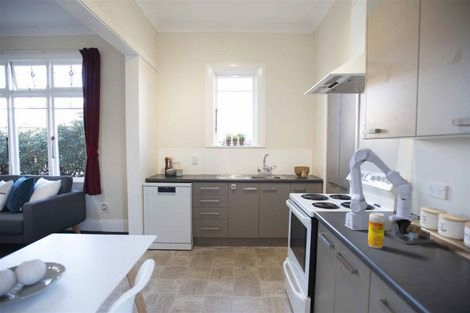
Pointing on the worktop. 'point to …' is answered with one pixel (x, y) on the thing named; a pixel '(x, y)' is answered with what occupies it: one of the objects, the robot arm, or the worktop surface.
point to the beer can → (376, 230)
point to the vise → (423, 239)
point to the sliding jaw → (409, 233)
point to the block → (415, 229)
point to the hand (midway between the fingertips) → (402, 234)
